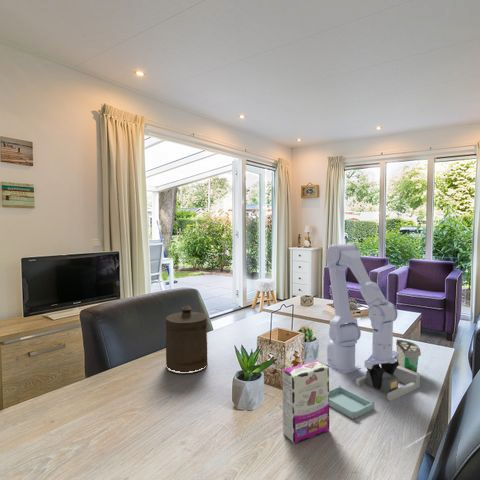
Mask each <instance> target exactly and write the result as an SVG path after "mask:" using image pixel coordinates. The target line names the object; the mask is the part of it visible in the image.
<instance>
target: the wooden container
mask: <svg viewBox="0 0 480 480" xmlns="http://www.w3.org/2000/svg"><path fill="white" fill-rule="evenodd" d="M165 318H166V319H165V320H166V321H165V324H166V327H165V328H166V331H165V334H166V335H165V337H166V338H165V361H166V362H165V366H166V365H167V367H168V368H170V369H171V370H175V371H180V372H189V371H195V370H199V369H201V368H204V367H205V366H206V365H207V366H208V332H207V329H208V328H207V326H208V322H207V321H208V319H207V318H208V317H207V314H205V313H203V312H197V311H192V307H191V306H189V305H184V306H183V307H181V311H179V312H175V313H172V314H169V315H167V316H166V317H165Z"/></svg>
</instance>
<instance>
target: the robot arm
mask: <svg viewBox="0 0 480 480" xmlns="http://www.w3.org/2000/svg"><path fill="white" fill-rule="evenodd" d="M325 254H326V259H327V260H326V261H327V267H328V273H329V280H330V287H331V294H332V295H331V296H332V301H333V310H334V317H333V318H332V319H331V320H330V321H329V330H328V336H329V338H330V340H329V341H328V344H327V346H326V358H327V359H326V363H325V365H326V366H328V367H329V368H332V369H334V370H336V371H339V372H342V373H343V374H349V373H351V372H354V371H357V370H360V369H361V366H359V365H357V364H356V344H358V341H359V339H361V335H362V332H361V327H360V326H359V325H358V320H357V318H355V317H354V316H353V315H352V314H351V306H350V300H349V295H348V294H349V293H348V292H349V291H348V287H347V285H348V284H347V279H346V270H347V268H349V269H350V271H351V272H352V274H353V276H354V277H355V280H356V281H357V282H358V284H359V285H360V288H359V292H360V294H361V296H362V298H363V300H364V301H365V303H366V305H367V307H368V309H369V311H368V312H367V313H368V318H369V320H370V325H371V328H372V349H371V350H372V353H371V355H370V356H369V357H368V358H367V359H366V360H364V366H363V367H364V368H366V371H369V374H370V376H371V380H372V384H373V387H375V388H377V389H380V388H381V382H382V376H383V373H384V371H385V372H387V373H390V374H392V375H393V374H394V372H395V370H396V368H397V366H398V362H397V359H398V358H399V352H397V350H396V351H395V350H393V343H394V341H393V339H394V338H393V337H394V336H393V335H394V334H393V333H394V322H395V321H396V320H397V319H398V310H397V308H396V305H395V304H393V303H392V302H390V301H389V299H388V300H387V298H386V297H385V296H384V294H383V292H382V291H381V289H380V286H379V285H378V284H377V282H374V281H372V280H371V278H370V277H369V274H368V272H367V270H366V267H365V265H364V264H363V262H362V261H363V260H362V259H361V258H362V257H361V256H362V252H361V251H360V249H359V247H358V245H357V244H356V243H345V244H343V243H342V244H340V243H339V244H335V243H333V244H330V245H329V247H328V248H327V249H326V252H325Z"/></svg>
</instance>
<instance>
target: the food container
mask: <svg viewBox="0 0 480 480" xmlns="http://www.w3.org/2000/svg"><path fill="white" fill-rule="evenodd" d="M395 341H396V342H395V343H396V352H399V358H398V359H396V361H397V362H398V366H401V367H403V368H406V369H409V370H411V371H414V372H417V373H418V364H419V357H420V356H421V355H422V352H421V348H420V346H419V345H418V344H416V343H414V342H412V341H408V340H406V339H405V340H404V339H396V340H395Z"/></svg>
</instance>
